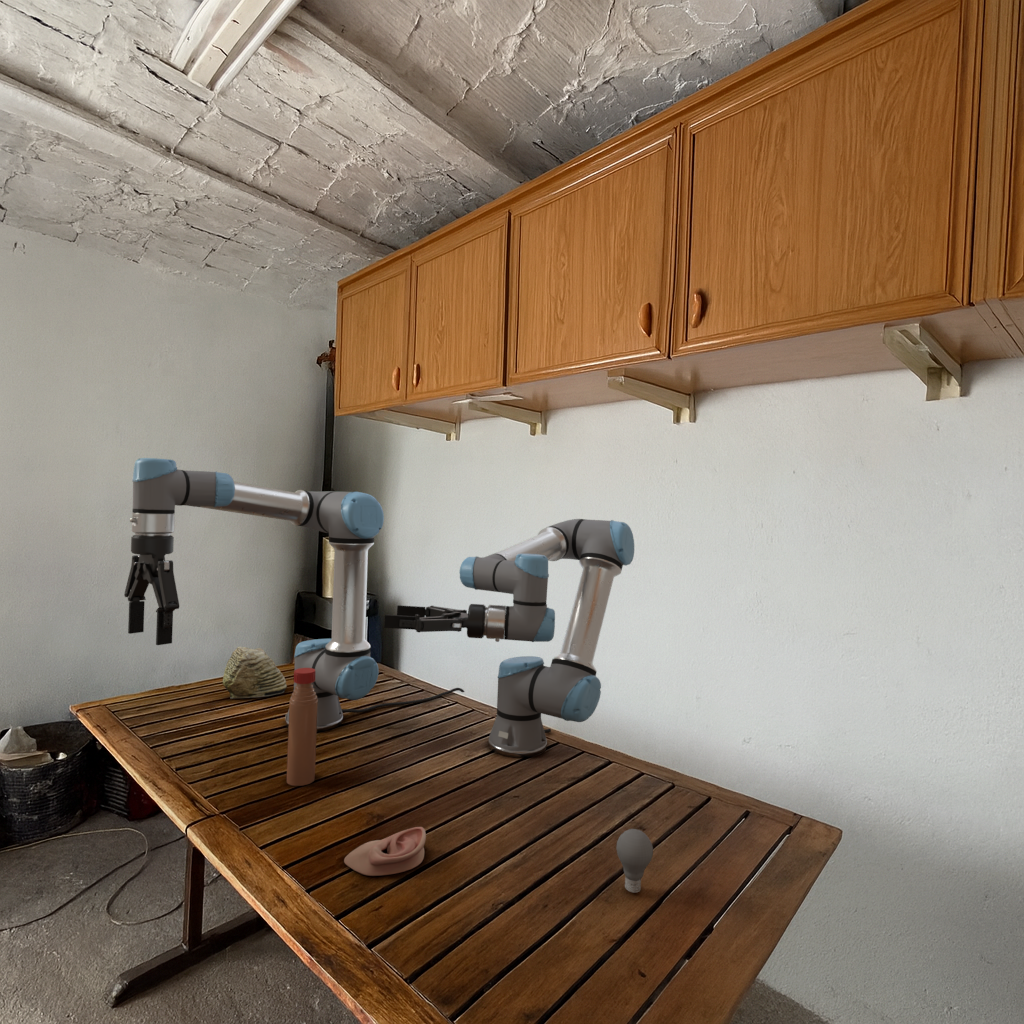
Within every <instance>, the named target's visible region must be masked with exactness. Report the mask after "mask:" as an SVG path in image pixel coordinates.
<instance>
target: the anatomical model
mask: <svg viewBox="0 0 1024 1024" xmlns="http://www.w3.org/2000/svg"><path fill="white" fill-rule="evenodd" d="M426 839H427V834H426V829H425V827H423V826H415V827H411V828H407V829H404V830H401V831H398V832H396V833H394V834H392V835H389V836H387V837H385V838H383V839H376V840H370V841H368V842H365V843H363V844H361V845H359V846H357V847H356V848H355V849H353V850H352V851H350V852H349V853H348V854H347V855H346V856H345V857H344V859H343V863H344V865H346V866H347V867H348V868H350V869H352V870H353V871H355V872H356V873H359V874H361V875H364V876H369V877H377V876H389V875H394V874H395V875H396V874H399V873H403V872H407V871H409V870H412V869H414V868H416V867H418V866H419V865H421V863H422V862H423V860H424V859H425V848H424V846H425V844H426Z"/></svg>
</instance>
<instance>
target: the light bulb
mask: <svg viewBox="0 0 1024 1024" xmlns="http://www.w3.org/2000/svg"><path fill="white" fill-rule="evenodd" d="M615 849H616V854H617V857H618V859H619V861H620V863H621V865H622V867H623V873H624V874H623V875H624V876H625V878H624V888H625V890H627V891H628V892H630V893H634V894H635V893H639V892H640V891H641V889H642V887H641V886H642V879H643V877H644V875H645V871H646V868H647V867H648V866H649V864H650V863H651V861H652V859H653V855H654V847H653V843H652V841H651V838H649V836H648V835H647V834H646V833H645V832H643V831H642V830H641V829H636V828H629V829H627V830H625V831H623V832H622V833H621V834H620V835H619V837H618V839H617V841H616V847H615Z"/></svg>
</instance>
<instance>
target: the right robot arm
mask: <svg viewBox="0 0 1024 1024" xmlns="http://www.w3.org/2000/svg"><path fill="white" fill-rule="evenodd" d="M634 555H635V539H634V534H633V530H632V528H631V527H630V525H629V524H628V523H626V522H624V521H619V520H618V521H617V520H614V519H610V520H606V519H605V520H602V519H586V518H585V519H584V518H572V519H568V520H564V521H560V522H557V523H554V524H551V525H549V526H546V527H544V528H542V529H540V530H539V532H538V533H537V534H536V535H535V536H532V537H530V538H527V539H525V540H523V541H520V542H518V543H515V544H513V545H510V546H509V547H506V548H504V549H501V550H498V551H496V552H494V553H492V554H488V555H486V556H482V557H480V556H477V555H476V556H467V557H466V558H465V559H463V561H462V562H461V564H460V566H459V580H460V582H461V584H462V585H463V587H465V588H470V589H474V590H475V591H478V590H479V591H486V592H494V593H495V592H496V593H502V594H503V593H504V594H510V595H512V596H513V599H512V603H513V605H511V606H510V605H503V604H489V605H488V606H486V605H485V604H481V603H470V604H469V605H468V609H458V608H457V609H456V608H449V607H443V606H436V605H429V606H418V605H417V606H416V605H401V604H400V605H397V608H396V614H385V615H384V623H383V624H384V626H383V627H384V629H396V630H397V629H398V630H414V631H415V632H416V633H427V632H428V633H433V632H435V633H436V632H458V633H460V632H462V630H463V629H466V636H467V638H469V639H483V638H484V637H486V639H489V640H495V642H496V643H499V642H500V640H505V641H517V642H518V641H519V642H531V643H536V642H537V643H538V642H539V643H540V642H541V643H546V642H547V643H548V642H551V641H553V639H554V636H555V629H556V628H555V627H556V611H555V609H553V608H550V607H548V604H547V600H548V599H547V598H548V583H549V576H550V574H549V562H557V561H560V560H575V561H578V564H579V565H580V567H581V569H582V570H581V573H580V574H581V575H580V577H579V582H578V586H577V590H576V593H575V597H574V601H573V604H572V608H571V612H570V615H569V619H568V622H567V625H566V626H567V627H566V630H565V634H564V637H563V642H562V644H561V649H560V652H559V654H558V655H556V656H554V657H553V658H552V660H551V663H550V666H546V665H545V661H544V658H542V657H540V656H533V655H526V656H514V657H513V656H512V657H508V658H506V659H504V660H502V661H501V662H500V664H499V667H498V674H497V695H496V696H497V697H496V698H497V700H496V715H495V720H494V722H493V725H492V728H491V730H490V733H489V735H488V748H489V749H490V750H491V751H492V752H493V753H496V754H498V755H502V756H506V757H511V758H531V757H535V756H536V757H537V756H539V755H541V754H544V753H545V751H547V747H548V739H547V735H546V734H549V733H551V732H552V729H551V728H547V729H545V727H544V724H543V721H542V715H547V716H550V717H553V718H558V719H562V720H564V721H567V722H569V721H570V722H574V723H582V722H585V721H587V720H589V718H590V717H591V716H592V715H593V714H594V713H595V711H596V709H597V707H598V705H599V702H600V698H601V694H602V690H601V688H602V683H601V679H599V677H597V674H598V673H597V672H598V670H597V669H596V667H595V665H594V660H595V655H596V651H597V647H598V643H599V639H600V636H601V635H600V634H601V632H602V627H603V623H604V619H605V616H606V615H605V614H606V611H607V607H608V603H609V599H610V595H611V591H612V588H613V582H614V579H615V577H617V576H619V575H621V574H622V570H623V567H624V566H629V565H631V564H632V561H633V560H634Z"/></svg>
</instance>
